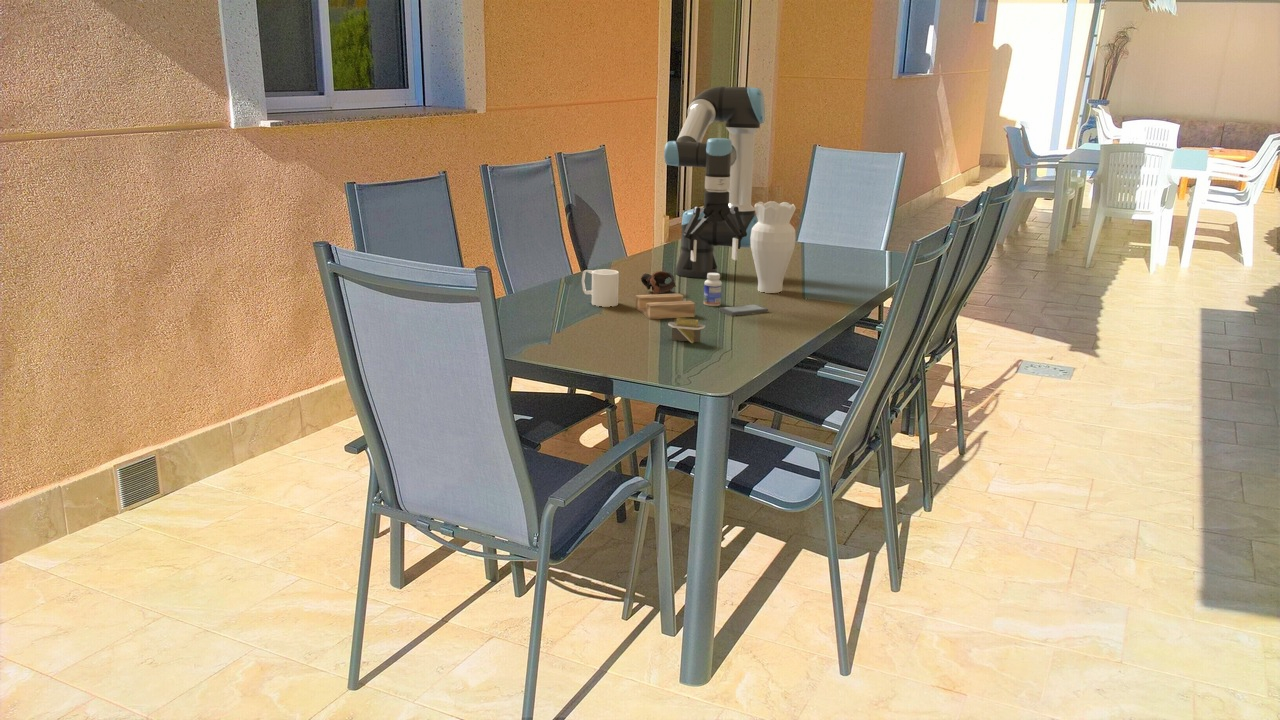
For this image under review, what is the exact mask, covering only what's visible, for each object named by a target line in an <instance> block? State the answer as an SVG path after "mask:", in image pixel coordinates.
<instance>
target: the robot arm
mask: <svg viewBox="0 0 1280 720" xmlns="http://www.w3.org/2000/svg"><path fill="white" fill-rule="evenodd" d="M765 107H766V106H765V98H764V94H763V91H762V90H761V88H757V87H750V86H714V87H710V88H708V89H705V90H703V91H701V92H700V93H698V94H697V95H696V96H695V97H693V99H692V100H691V101H690V103H689V105H688V108H687V117H686V119H685V121H684V123H683V126H682V128H681V130H680V132H679V133H678V137H677V138H676V140H669V141H667V142H666V143H665V145H664V151H663V152H664V155H663V156H664V157H663V158H664V161H665V165H667V166H671V167H672V166H674V167H692V168H693V167H694V168H695V167H696V168H697V167H698V168H705V175H704V190H705V191H704V197H703V202H704V203H703V204H704V205H703V207H699V206H694V207H693V208H692V209H688V210H686V211H684V212H683V213H682V218H681V219H682V220H681V224H680V225H681V235H680V237H681V239H680V253H679V256H678V259H677V262H676V265H675V270H674V271H675V274H676V275H677V276H680V277H685V278H695V279H697V278H698V279H702V278H703V279H704V278H706V279H708V278H707V274H708V273H719V267H718V264H717V260H716V257H715V253H714V252H715V247H727V248H728V247H729V248H730V247H732V248H731V260H734V261H738V251H739V250H740V249H741V248H751V240H750V237H751V231H752V228H753V226H754V225H755V224H756V223H757V222H758V218H757V215H756V211H755V208H754V205H752V193H753V192H752V190H753V175H754V173H753V172H754V158H755V157H754V156H755V154H754V153H755V152H754V151H755V139H756V138H755V137H756V133H757V132H758V131H759V130H760V128H761V127H760V126H761V124H764V123H765V122H766V121H765V120H766V109H765ZM714 122H720V123H725V129H726V130H727V131H728V132H729V138H723V137H714V138H713V137H711V138H708V139H707V141H706V142H703V139H704V136H705V134H706V132H707V130H708V129H709V125H711V124H712V123H714Z"/></svg>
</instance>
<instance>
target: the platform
mask: <svg viewBox="0 0 1280 720" xmlns="http://www.w3.org/2000/svg"><path fill="white" fill-rule="evenodd" d="M667 325H668V326H669V327H670V328H671V340H672V341H682V342H690V344H695V343H701V332H702V331H701V330H702V329H705V328H706V325H705V324H699V319H694V318H693V319H692V318H684V317H680V318H676V319H675V322H673V321H668V323H667Z"/></svg>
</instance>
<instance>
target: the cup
mask: <svg viewBox="0 0 1280 720" xmlns="http://www.w3.org/2000/svg"><path fill="white" fill-rule="evenodd" d="M586 273H588V274H591V290H587V289H586V284H585V279H586ZM619 274H620V273H619V271H618V270H615V269H603V268H602V269H595V270H591V269H590V270H589V269H585V270H583V271H582V274H581V275H582V276H581V286H582V292H583V293H584V294H585V295H591V305H592V306H594V305H596V306H595V307H599V306H602V308H609V307H610V306H612V307H616V306H618V305H619V278H620V277H619V276H620V275H619Z"/></svg>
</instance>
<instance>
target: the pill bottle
mask: <svg viewBox="0 0 1280 720" xmlns="http://www.w3.org/2000/svg"><path fill="white" fill-rule="evenodd" d="M720 279H721V273H719V272H718V273H708V274H707V278H706V280H705V281H704V283H703V284H704V288H703V305H704V306H709V307H718V306H720V305H721V302H722V288H723V287H722V285H723V283H722V281H721V280H720Z"/></svg>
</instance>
